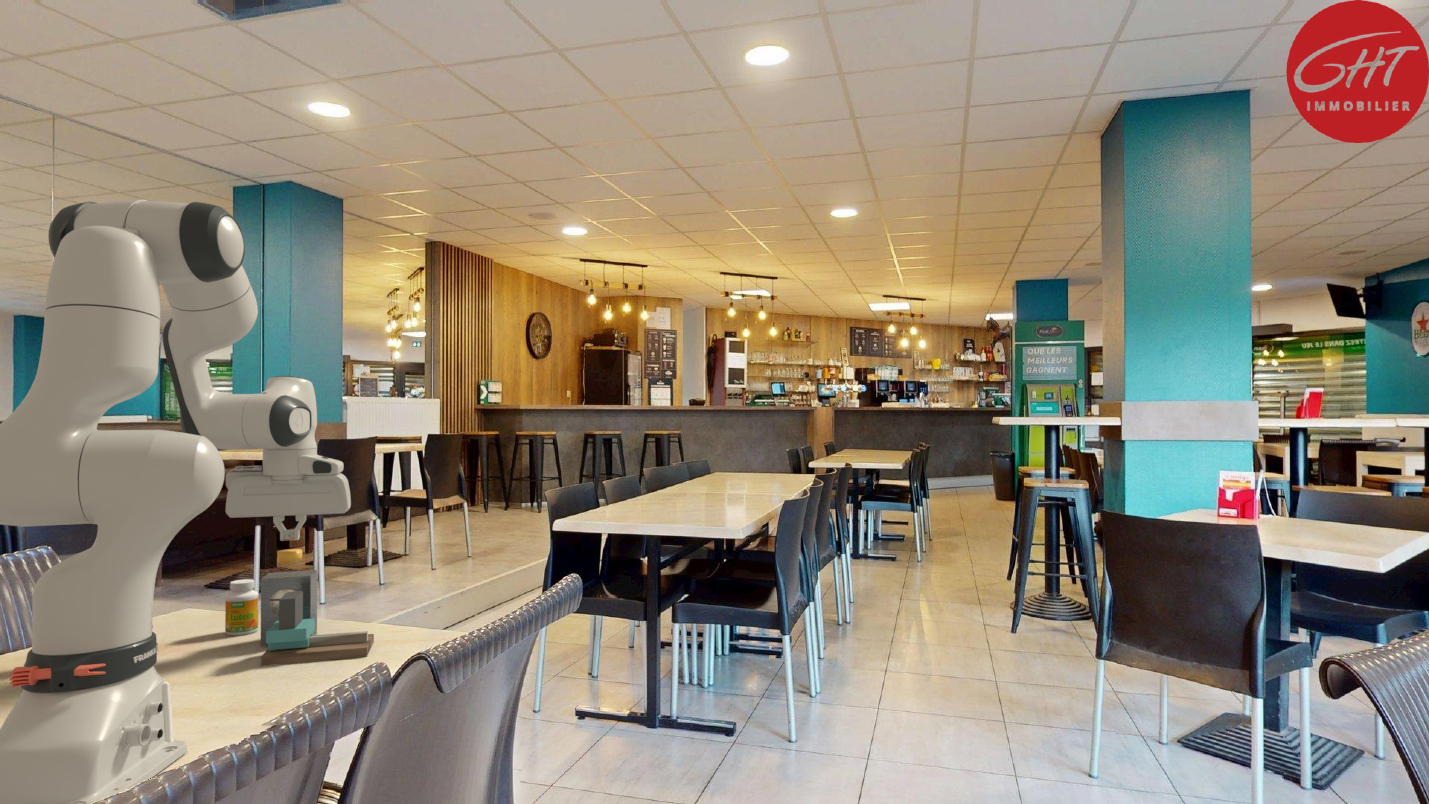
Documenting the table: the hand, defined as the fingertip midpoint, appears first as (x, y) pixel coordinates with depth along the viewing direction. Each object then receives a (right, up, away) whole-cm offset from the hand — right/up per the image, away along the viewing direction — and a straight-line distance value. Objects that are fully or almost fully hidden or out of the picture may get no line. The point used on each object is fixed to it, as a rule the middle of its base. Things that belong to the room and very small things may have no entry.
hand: (290, 540), depth 143 cm
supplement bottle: (-12, -19, +5) cm, 23 cm away
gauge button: (0, -4, 0) cm, 4 cm away
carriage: (+6, -16, -10) cm, 20 cm away
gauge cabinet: (0, -18, -1) cm, 18 cm away
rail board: (+10, -18, -9) cm, 23 cm away
